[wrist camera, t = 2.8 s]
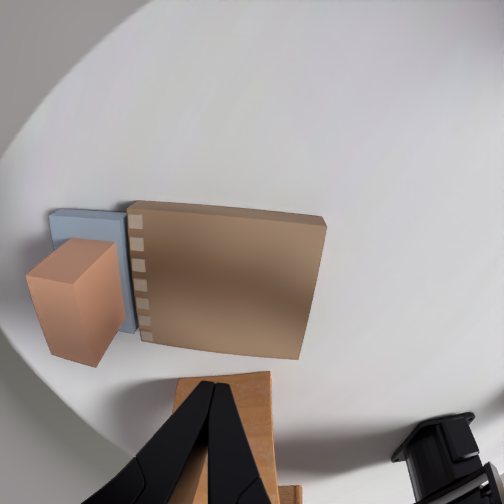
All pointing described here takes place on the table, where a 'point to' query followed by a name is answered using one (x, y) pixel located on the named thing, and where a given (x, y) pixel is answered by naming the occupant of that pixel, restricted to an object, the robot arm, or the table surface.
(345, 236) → the table surface
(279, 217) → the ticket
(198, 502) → the arch
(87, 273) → the stub
